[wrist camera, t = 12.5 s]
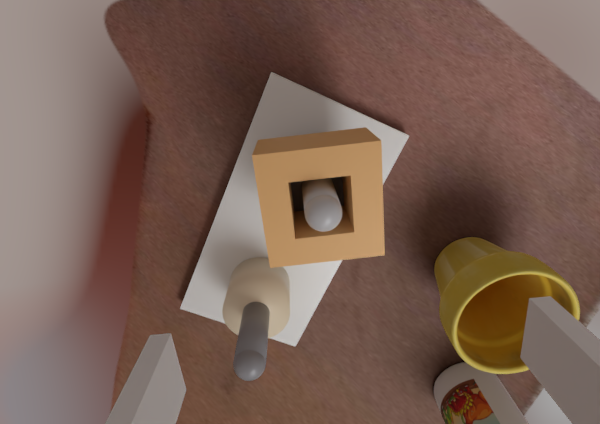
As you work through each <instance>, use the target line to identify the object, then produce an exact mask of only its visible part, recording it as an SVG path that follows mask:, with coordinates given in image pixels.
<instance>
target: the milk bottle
mask: <svg viewBox="0 0 600 424" xmlns="http://www.w3.org/2000/svg"><path fill="white" fill-rule="evenodd" d="M434 397H435V400H436V402H437V405H438V407H439V410H440V412H441V414H442V417H443V419H444V421H445V424H528V422H527V421H526V419H525V417H524V416H523V414H522V413H521V411H520V410H519V408H518V407H517V405H516V404H515V402H514V401H513V399H512V398H511V396H510V395H509V393H508V392H507V390H506V389H505V387H504V386H503V384H502V383H501V381H500V380H499V378H498V377H497V375H496V374H494V373H489V372H484V371H481V370H478V369H476V368H474V367H472V366H470V365H469V364H467V363H466V362H461V363H458V364H455V365H453V366H450V367H449V368H447V369H445V370H444V371H443V372H442V373H441V374H440V375H439V376H438V378H437V380H436V381H435V385H434Z"/></svg>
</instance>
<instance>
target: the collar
mask: <svg viewBox="0 0 600 424" xmlns="http://www.w3.org/2000/svg"><path fill="white" fill-rule="evenodd" d="M252 159H253V165H254V172H255V178H256V184H257V190H258V197H259V203H260V209H261V215H262V221H263V228H264V234H265V240H266V246H267V252H268V259H269V265H270V268H274V267H284V266H293V265H302V264H311V263H320V262H329V261H338V260H347V259H356V258H365V257H374V256H383V255H385V247H384V213H383V179H382V145H381V140H380V139H379V138H378V137H377V136H375V135H374V134H373V133H372V132H371V131H370V130H368V129H367V128H366V127H364V128H356V129H347V130H338V131H330V132H321V133H312V134H304V135H295V136H287V137H278V138H269V139H261V140H258V141H257V144H256V146H255V149H254V151H253V154H252ZM333 177H342V182H343V196H344V206H341V207H342V219H341V221H340V223H339V224H338V226H337V227H335V228H334V229H332V230H330V231H326V232H320V231H317V230H315V229H313V228H312V227H310V226H309V224H308V223H307V221H306V219H305V214H304V211H295V212H294V205H293V197H292V189H291V182H298V181H307V180H316V179H325V178H333Z"/></svg>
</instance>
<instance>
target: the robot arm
mask: <svg viewBox="0 0 600 424" xmlns="http://www.w3.org/2000/svg"><path fill="white" fill-rule="evenodd" d="M520 358H521V359H522V361H523V362H524V363H525V364H526V366H527V367H528V368H529V369H530V371H531V372H532V373H533V374H534V376H535V377H536V378H537V380H538V381H539V382H540V383H541V385H542V386H543V387H544V388H545V390H546V391H547V392H548V393H549V395H550V396H551V397H552V398H553V400H554V401H555V402H556V404H557V405H558V406H559V407H560V408H561V410H562V411H563V412H564V414H565V415H566V416H567V417H568V419H569V420H570V421H571V422H572V424H600V340H599V339H598V338H597V337H596V336H595V335H594V334H592V333H591V332H590V331H589V330H588V329H587V328H586V327H585V326H584V325H582V324H581V323H580V322H579V321H578V320H577V319H576V318H574V317H573V316H572V315H571V314H570V313H569V312H568V311H567V310H565V309H564V308H563V307H562V306H561V305H560V304H559V303H558V302H556V301H555V300H554V299H553V298H552V297H551V296H547V297H536V298H529V303H528V310H527V316H526V323H525V329H524V336H523V342H522V349H521V355H520ZM185 393H186V387H185V383H184V379H183V376H182V372H181V368H180V365H179V361H178V357H177V354H176V350H175V346H174V343H173V339H172V335H171V333H167V334H157V335H150V336H149V338H148V340H147V342H146V344H145V346H144V348H143V350H142V352H141V354H140V356H139V358H138V360H137V362H136V364H135V366H134V368H133V370H132V372H131V374H130V376H129V378H128V380H127V382H126V384H125V386H124V387H123V389H122V391H121V393H120V395H119V397H118V399H117V401H116V403H115V405H114V407H113V409H112V411H111V413H110V415H109V417H108V419H107V421H106V423H105V424H176V421H177V418H178V415H179V412H180V409H181V405H182V402H183V399H184V396H185Z"/></svg>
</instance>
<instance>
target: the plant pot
mask: <svg viewBox="0 0 600 424" xmlns="http://www.w3.org/2000/svg"><path fill="white" fill-rule="evenodd" d="M434 273H435V278H436V281H437V285H438V289H439V293H440V297H441V300H440V306H439V313H440V319H441V323H442V325H443V328H444V330H445V332H446V334H447V336H448V338H449V340H450V342H451V343H452V345H453V347H454V349H455V350H456V352H457V353H458V355H459V356H460V357H461V358H462V359H463V360H464V361H465V362H466V363H467V364H469V365H470V366H472V367H474V368H476V369H478V370H481V371H484V372H489V373H494V374H511V373H518V372H522V371H526V370H529V368H528V367H527V366H526V364H525V363H524V362H523V361H522V359H521V358H520V355H521V349H522V342H523V336H524V329H525V323H526V316H527V310H528V303H529V298H536V297H547V296H551V297H552V298H553V299H554V300H555V301H556V302H558V303H559V304H560V305H561V306H562V307H563V308H564V309H565V310H567V311H568V312H569V313H570V314H571V315H572V316H573V317H574V318H576V319H577V320H578V321H579V317H580V306H579V301H578V298H577V296H576V293H575V291H574V290H573V288H572V287H571V286H570V284H569V283H568V282H567V281H566V280H565V279H564V278H562V277H561V276H560V275H559V274H558V273H556V272H555V271H554V270H553V269H551V268H550V267H549V266H547V265H546V264H545V263H543V262H542V261H540V260H538V259H537V258H535V257H533V256H530V255H528V254H525V253H520V252H513V251H507V250H505V249H503V248H501V247H499V246H497V245H495V244H493V243H491V242H488V241H486V240H484V239H481V238H477V237H467V238H462V239H459V240H456V241H454V242H452V243H450V244H449V245H447V246H446V247H445V248H444V249H443V250H442V251H441V253H440V254H439V255H438V257H437V259H436V262H435V266H434Z"/></svg>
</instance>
